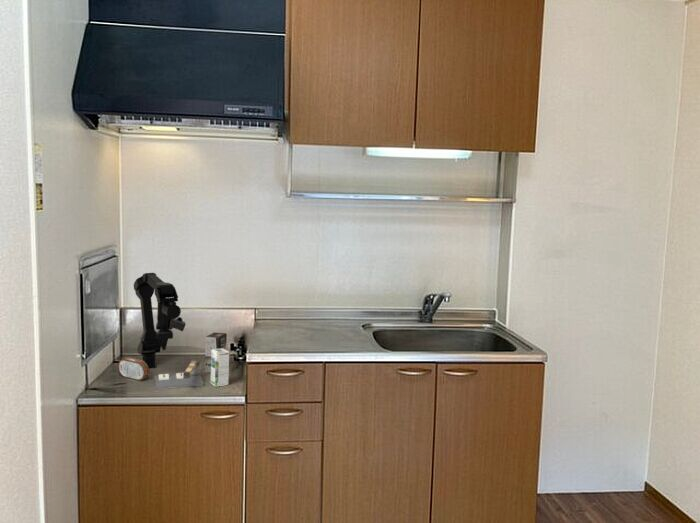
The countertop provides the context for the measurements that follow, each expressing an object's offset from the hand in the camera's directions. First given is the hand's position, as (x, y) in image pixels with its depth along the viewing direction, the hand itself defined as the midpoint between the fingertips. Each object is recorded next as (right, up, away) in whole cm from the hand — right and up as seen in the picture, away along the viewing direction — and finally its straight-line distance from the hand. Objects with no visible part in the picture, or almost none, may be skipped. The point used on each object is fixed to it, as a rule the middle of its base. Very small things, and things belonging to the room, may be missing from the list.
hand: (164, 349), depth 236 cm
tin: (-12, -12, -2) cm, 17 cm away
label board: (+8, -13, -4) cm, 15 cm away
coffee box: (+18, -11, +14) cm, 26 cm away
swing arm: (+13, -8, -6) cm, 17 cm away
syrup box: (+25, -14, -5) cm, 29 cm away
